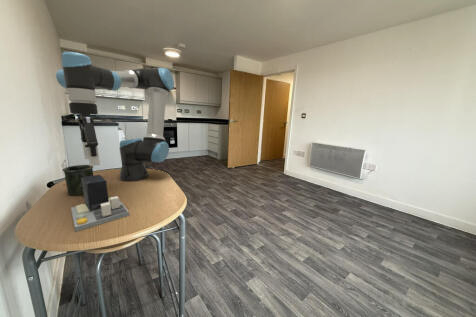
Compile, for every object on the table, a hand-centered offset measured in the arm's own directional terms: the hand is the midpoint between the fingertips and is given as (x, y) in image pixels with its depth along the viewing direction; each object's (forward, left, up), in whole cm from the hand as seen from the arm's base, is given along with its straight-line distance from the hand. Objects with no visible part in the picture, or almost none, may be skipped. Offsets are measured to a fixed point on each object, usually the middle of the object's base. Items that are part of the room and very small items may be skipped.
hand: (91, 161), depth 69 cm
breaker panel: (0, +5, -19) cm, 20 cm away
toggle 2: (-4, +8, -17) cm, 19 cm away
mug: (+3, -23, -19) cm, 30 cm away
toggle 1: (-1, +12, -17) cm, 21 cm away
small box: (0, 0, -17) cm, 17 cm away
